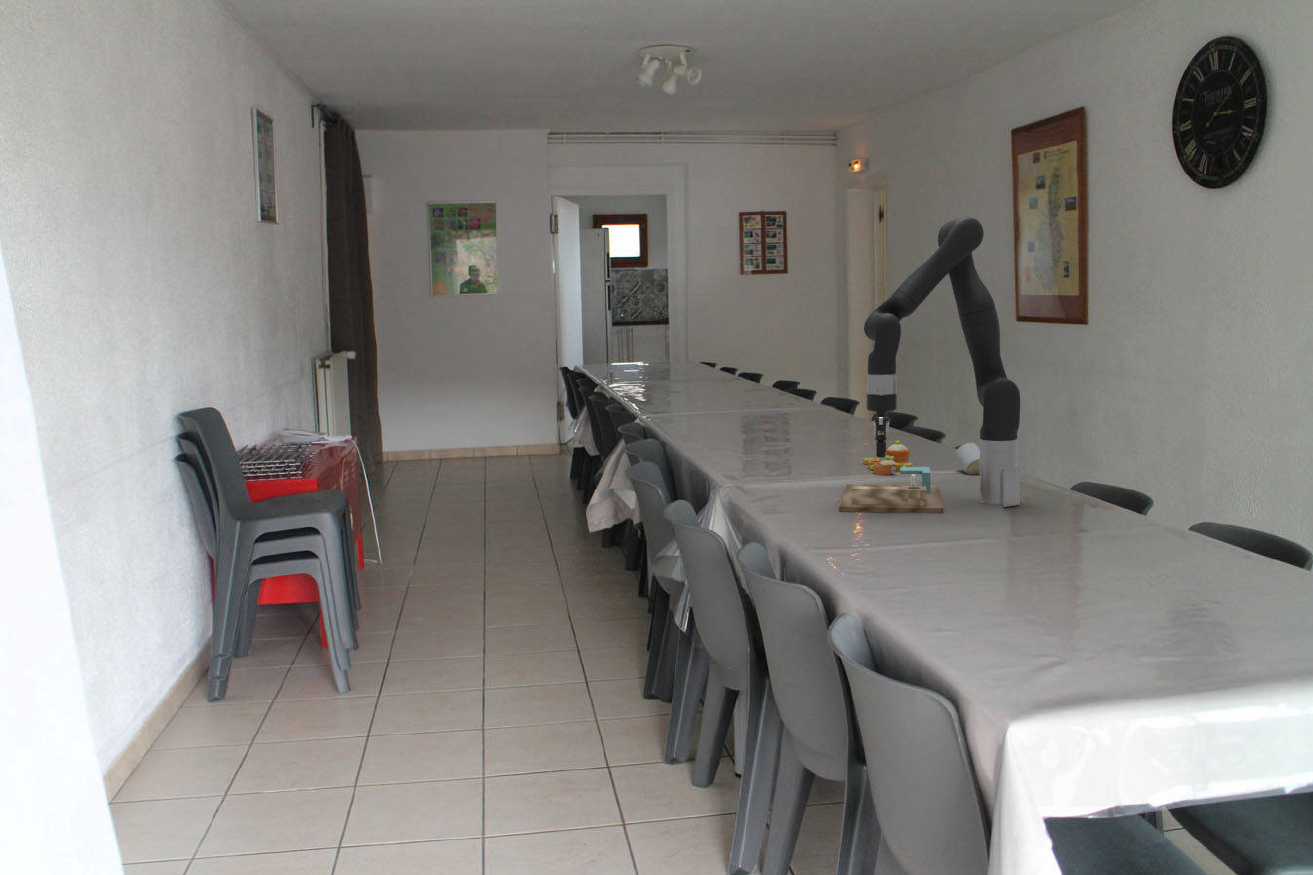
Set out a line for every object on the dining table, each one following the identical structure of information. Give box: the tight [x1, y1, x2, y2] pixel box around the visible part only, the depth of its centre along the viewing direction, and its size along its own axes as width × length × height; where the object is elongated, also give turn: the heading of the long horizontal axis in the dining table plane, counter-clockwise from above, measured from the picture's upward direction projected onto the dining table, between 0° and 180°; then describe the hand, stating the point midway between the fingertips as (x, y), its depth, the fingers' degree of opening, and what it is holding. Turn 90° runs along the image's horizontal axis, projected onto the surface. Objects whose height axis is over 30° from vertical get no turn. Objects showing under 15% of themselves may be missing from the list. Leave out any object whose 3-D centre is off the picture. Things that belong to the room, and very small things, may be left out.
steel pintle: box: [910, 474, 918, 486], centre depth 274 cm, size 2×2×6 cm
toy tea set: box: [859, 440, 914, 476], centre depth 326 cm, size 26×16×10 cm, turn 178°
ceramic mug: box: [954, 442, 980, 475], centre depth 315 cm, size 11×8×8 cm
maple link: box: [852, 486, 926, 506], centre depth 266 cm, size 18×6×4 cm, turn 77°
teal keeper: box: [899, 466, 931, 493], centre depth 285 cm, size 8×12×6 cm
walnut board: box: [839, 484, 944, 514], centre depth 277 cm, size 26×36×1 cm
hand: (881, 454), depth 265 cm, fingers open, 8 cm apart
